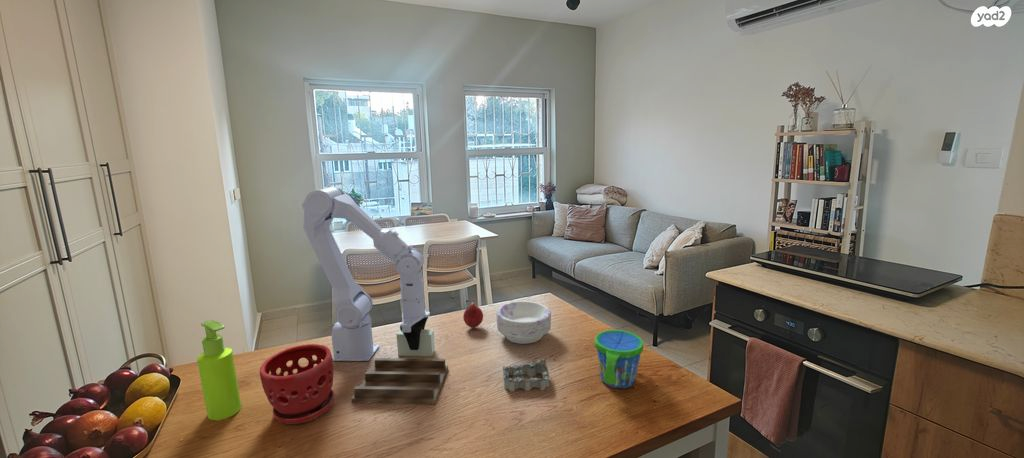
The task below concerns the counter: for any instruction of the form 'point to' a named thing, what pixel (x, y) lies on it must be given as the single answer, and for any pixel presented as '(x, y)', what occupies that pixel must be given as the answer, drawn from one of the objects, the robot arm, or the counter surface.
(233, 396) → the soap dispenser
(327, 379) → the plant pot
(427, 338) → the pale green block
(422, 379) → the rack
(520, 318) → the paper bowls
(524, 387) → the egg carton
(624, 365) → the snack cup
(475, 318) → the onion
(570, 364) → the counter surface
